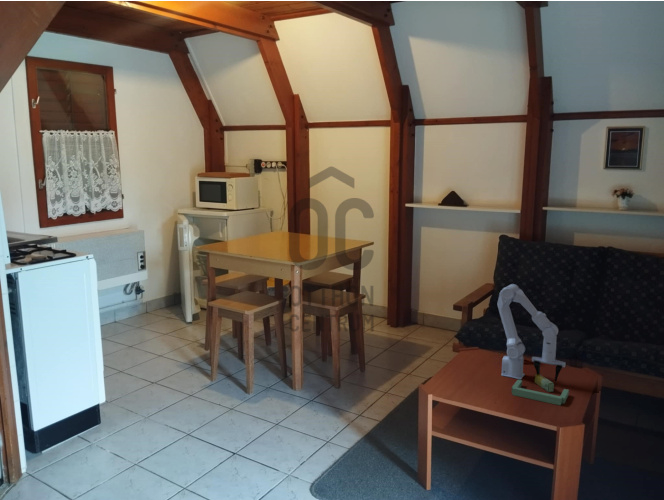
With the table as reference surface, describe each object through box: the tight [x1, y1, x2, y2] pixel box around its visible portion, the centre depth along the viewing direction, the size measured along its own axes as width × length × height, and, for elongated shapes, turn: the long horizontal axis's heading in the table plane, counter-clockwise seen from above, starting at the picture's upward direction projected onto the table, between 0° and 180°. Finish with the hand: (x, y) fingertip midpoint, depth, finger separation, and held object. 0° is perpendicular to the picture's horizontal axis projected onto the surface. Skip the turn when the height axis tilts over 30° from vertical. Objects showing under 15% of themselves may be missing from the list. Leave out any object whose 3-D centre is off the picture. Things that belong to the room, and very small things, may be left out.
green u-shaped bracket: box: [511, 379, 570, 406], centre depth 243 cm, size 22×14×3 cm, turn 58°
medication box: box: [534, 373, 555, 393], centre depth 252 cm, size 12×3×4 cm, turn 10°
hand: (547, 378), depth 258 cm, fingers open, 7 cm apart
